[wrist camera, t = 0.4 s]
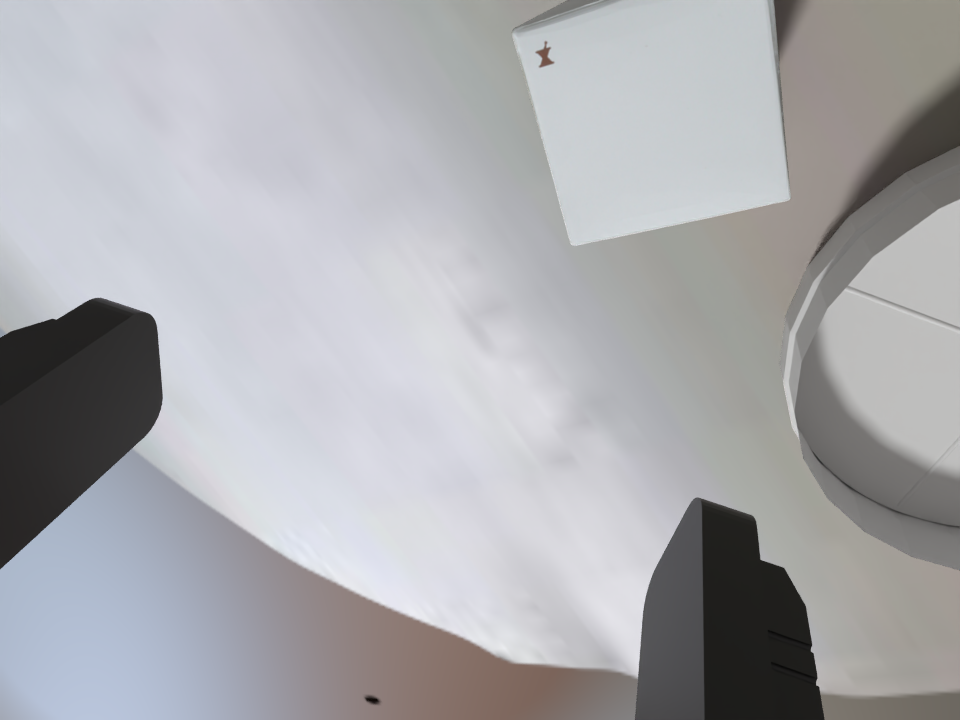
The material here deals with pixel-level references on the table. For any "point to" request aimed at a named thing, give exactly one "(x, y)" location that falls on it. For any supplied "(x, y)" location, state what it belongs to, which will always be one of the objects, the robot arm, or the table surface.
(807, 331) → the dish
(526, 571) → the table surface
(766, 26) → the supplement box
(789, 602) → the robot arm
